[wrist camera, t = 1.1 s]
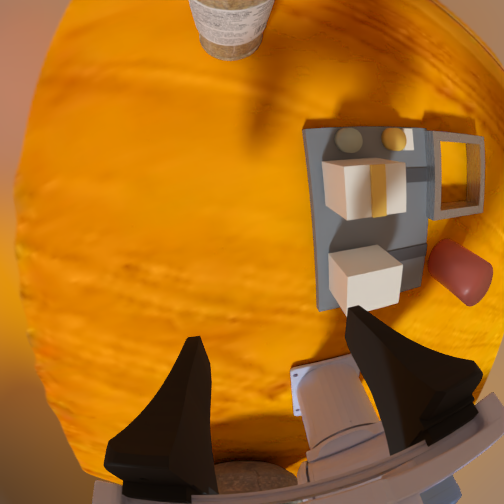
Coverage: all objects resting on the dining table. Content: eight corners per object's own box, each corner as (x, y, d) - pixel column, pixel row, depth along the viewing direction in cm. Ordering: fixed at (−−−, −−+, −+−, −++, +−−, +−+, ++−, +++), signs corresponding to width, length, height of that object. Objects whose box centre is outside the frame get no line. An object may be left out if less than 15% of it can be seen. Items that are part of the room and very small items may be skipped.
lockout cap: (452, 273, 24) (486, 299, 19) (425, 281, 24) (459, 311, 19) (458, 236, 23) (496, 258, 17) (430, 242, 22) (469, 267, 17)
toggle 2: (375, 278, 22) (398, 302, 18) (329, 288, 22) (346, 316, 18) (377, 244, 21) (403, 264, 17) (328, 253, 21) (347, 277, 17)
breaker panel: (416, 282, 24) (426, 291, 22) (316, 306, 24) (322, 318, 22) (421, 128, 18) (434, 128, 17) (302, 129, 18) (308, 128, 17)
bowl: (175, 476, 38) (172, 517, 29) (186, 434, 31) (181, 495, 22) (274, 483, 42) (280, 521, 33) (318, 443, 35) (332, 493, 26)
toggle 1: (377, 198, 19) (407, 212, 15) (325, 205, 19) (348, 221, 15) (375, 157, 18) (407, 163, 14) (321, 161, 18) (345, 166, 14)
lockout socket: (470, 207, 21) (482, 212, 20) (420, 214, 21) (433, 220, 19) (470, 135, 18) (483, 136, 17) (418, 130, 18) (432, 130, 17)
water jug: (441, 425, 41) (484, 508, 15) (421, 451, 47) (453, 523, 21) (384, 451, 41) (421, 548, 15) (370, 473, 47) (397, 552, 21)
